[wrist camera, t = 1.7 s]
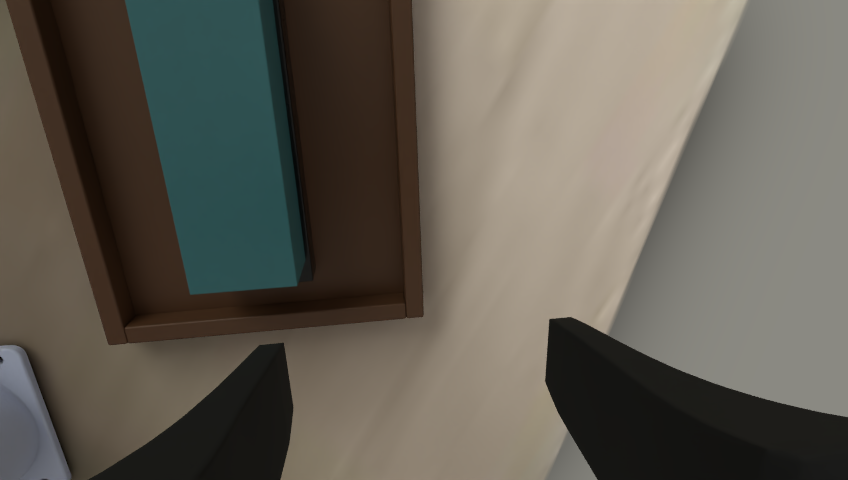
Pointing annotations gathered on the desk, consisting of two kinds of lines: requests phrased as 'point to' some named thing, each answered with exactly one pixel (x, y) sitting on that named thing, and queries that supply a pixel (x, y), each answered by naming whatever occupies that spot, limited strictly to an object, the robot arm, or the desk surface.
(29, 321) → the desk surface
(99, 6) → the tray
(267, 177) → the teal long block
